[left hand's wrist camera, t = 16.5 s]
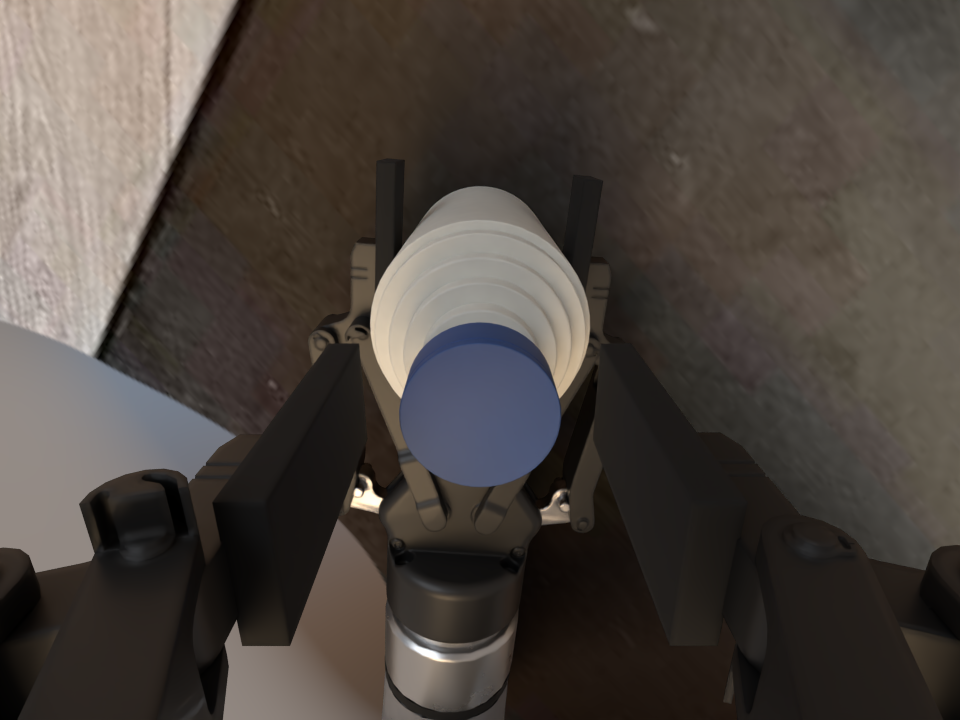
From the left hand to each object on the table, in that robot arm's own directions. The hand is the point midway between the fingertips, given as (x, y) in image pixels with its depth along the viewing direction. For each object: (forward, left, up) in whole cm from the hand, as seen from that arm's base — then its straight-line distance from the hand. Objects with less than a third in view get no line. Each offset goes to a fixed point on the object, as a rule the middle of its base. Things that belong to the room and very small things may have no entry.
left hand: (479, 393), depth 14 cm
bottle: (0, 0, -18) cm, 18 cm away
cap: (0, 0, +1) cm, 1 cm away
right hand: (-4, +3, -11) cm, 12 cm away
